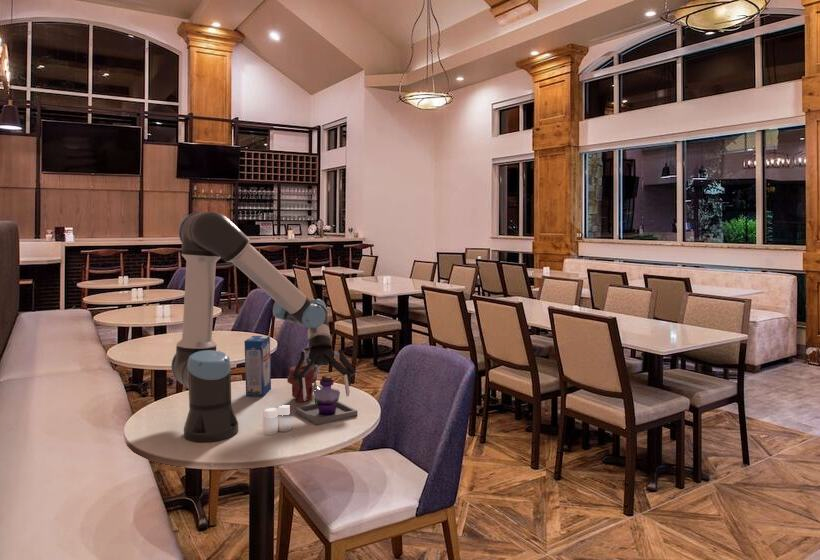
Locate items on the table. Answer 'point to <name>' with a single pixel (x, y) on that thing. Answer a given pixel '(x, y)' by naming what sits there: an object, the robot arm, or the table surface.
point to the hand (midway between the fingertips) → (326, 396)
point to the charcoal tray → (313, 415)
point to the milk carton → (257, 366)
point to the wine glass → (316, 368)
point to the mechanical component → (309, 380)
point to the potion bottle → (326, 397)
